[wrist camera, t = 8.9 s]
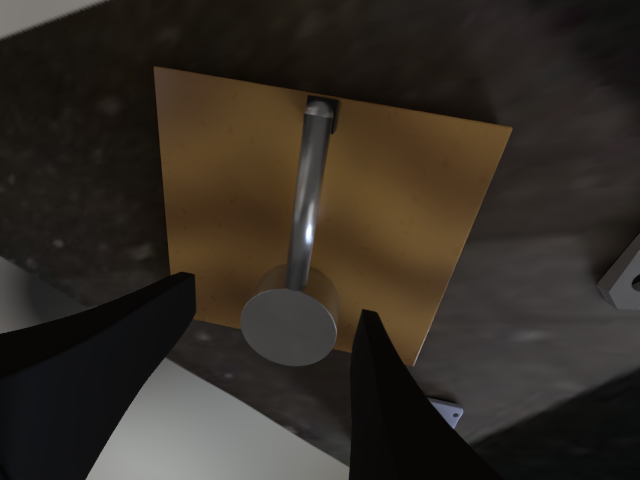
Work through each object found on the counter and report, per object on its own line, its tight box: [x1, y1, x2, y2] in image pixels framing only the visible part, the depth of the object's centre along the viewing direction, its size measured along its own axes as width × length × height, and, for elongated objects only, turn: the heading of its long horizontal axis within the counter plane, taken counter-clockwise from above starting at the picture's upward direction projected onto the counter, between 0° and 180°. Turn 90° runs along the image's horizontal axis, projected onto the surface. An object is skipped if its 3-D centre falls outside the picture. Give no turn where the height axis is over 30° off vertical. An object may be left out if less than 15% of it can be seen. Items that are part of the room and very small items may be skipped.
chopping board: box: [154, 66, 513, 366], centre depth 20 cm, size 18×20×2 cm
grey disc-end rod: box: [240, 95, 341, 366], centre depth 18 cm, size 17×6×3 cm, turn 171°
